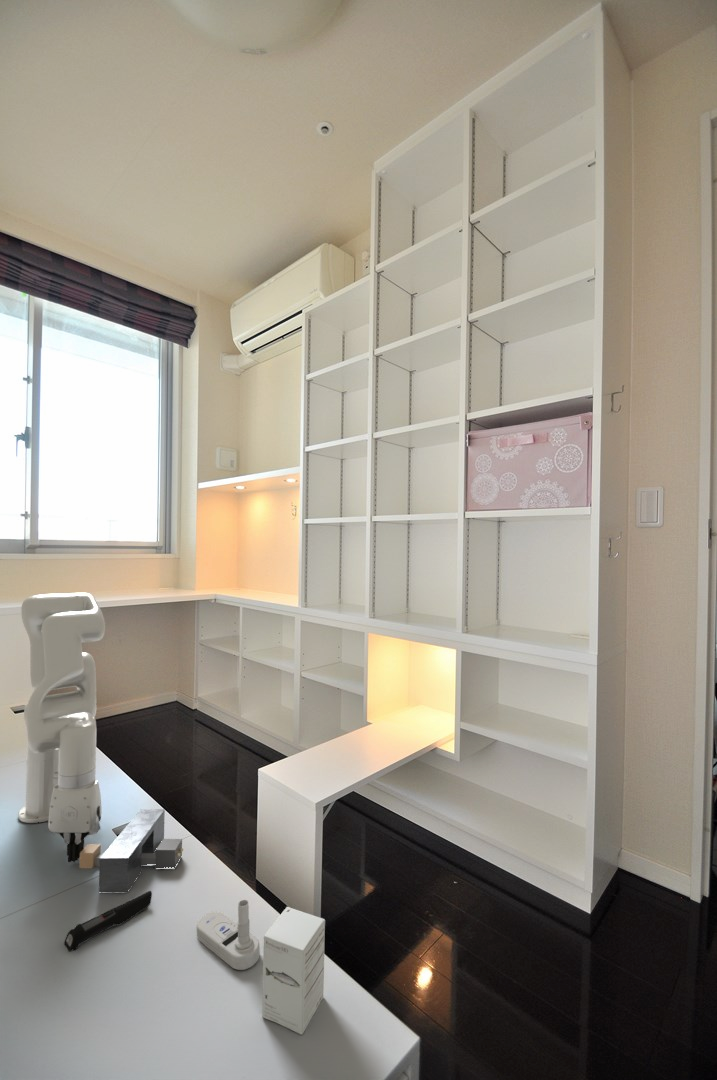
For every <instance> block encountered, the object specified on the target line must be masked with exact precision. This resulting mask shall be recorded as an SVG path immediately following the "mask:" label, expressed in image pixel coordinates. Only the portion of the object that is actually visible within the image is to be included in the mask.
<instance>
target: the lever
mask: <svg viewBox="0 0 717 1080" xmlns="http://www.w3.org/2000/svg"><path fill="white" fill-rule="evenodd" d="M101 848H102V846H101V843H91V844H90V843H88V844H87V845H85V846H84V849H83V850H82V851H81V852H80V858H79V869H93V868H95V867H99V862H100V857H101V856H102V855H103V854H104V852H103V853H102V852H101V851H102V850H101ZM183 852H184V848H183V838H164V839H163V840H162V842H161V843H160V844H159V846H158V847H157V849H156V851H155V853H142V858H141V865H147V864H156V865H155V866H154V867H155V868H164V867H165V868H166V867H168V868H169V867H171V868H172V867H174V868H175V866H176V864H177V863H178V861H179V859H180V858H181V856H182V857H183ZM181 859H182V858H181Z"/></svg>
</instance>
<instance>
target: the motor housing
mask: <svg viewBox="0 0 717 1080" xmlns="http://www.w3.org/2000/svg"><path fill="white" fill-rule="evenodd" d="M165 812H166V811H165V809H161V808H160V809H158V808H157V809H154V808H151V809H148V808H143V809H141V808H140V809H139V811H138V812H137V813H136V815H135V816H134V817H132V819H131V820H130V822H129V823H128V824H127V825H126V826H125V827H124V829H122V831H121V832H120V833H119V835H118V836H116V838H115V839H114V840H113V842H112V843H111V844H110V845H109V846H108V848H107V849H106V850H105V851H104V852H103V853H104V854H103V855H102V856H101V857H100V862H99V866H98V867H99V870H98V873H99V874H98V893H99V892H128V890H129V889H130V888H132V887H133V886H134V884H135V883H134V881H135V880H136V878H137V877H138V876H139V877H140V875H141V874H140V872H141V873H142V866H141V858H142V853H154V851H155V850H156V848H157V847H158V846H159V844H160V843H161V841H162V840H163V839H165ZM155 852H156V851H155ZM139 874H140V875H139ZM139 877H138V878H139ZM138 878H137V879H138ZM136 881H137V880H136ZM136 881H135V882H136ZM133 883H134V884H133ZM132 885H133V886H132ZM131 886H132V887H131ZM130 890H131V889H130ZM130 890H129V891H130ZM128 893H129V892H128Z"/></svg>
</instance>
